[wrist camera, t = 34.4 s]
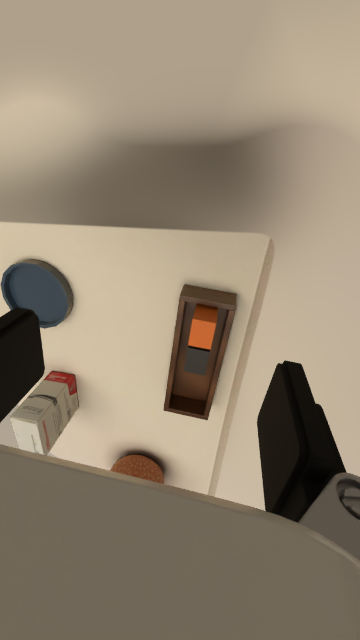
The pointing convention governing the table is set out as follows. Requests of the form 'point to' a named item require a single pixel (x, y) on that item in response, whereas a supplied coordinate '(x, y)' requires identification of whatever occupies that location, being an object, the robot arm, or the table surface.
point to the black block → (196, 360)
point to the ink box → (45, 413)
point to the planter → (139, 468)
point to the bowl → (38, 291)
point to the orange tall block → (203, 326)
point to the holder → (183, 387)
